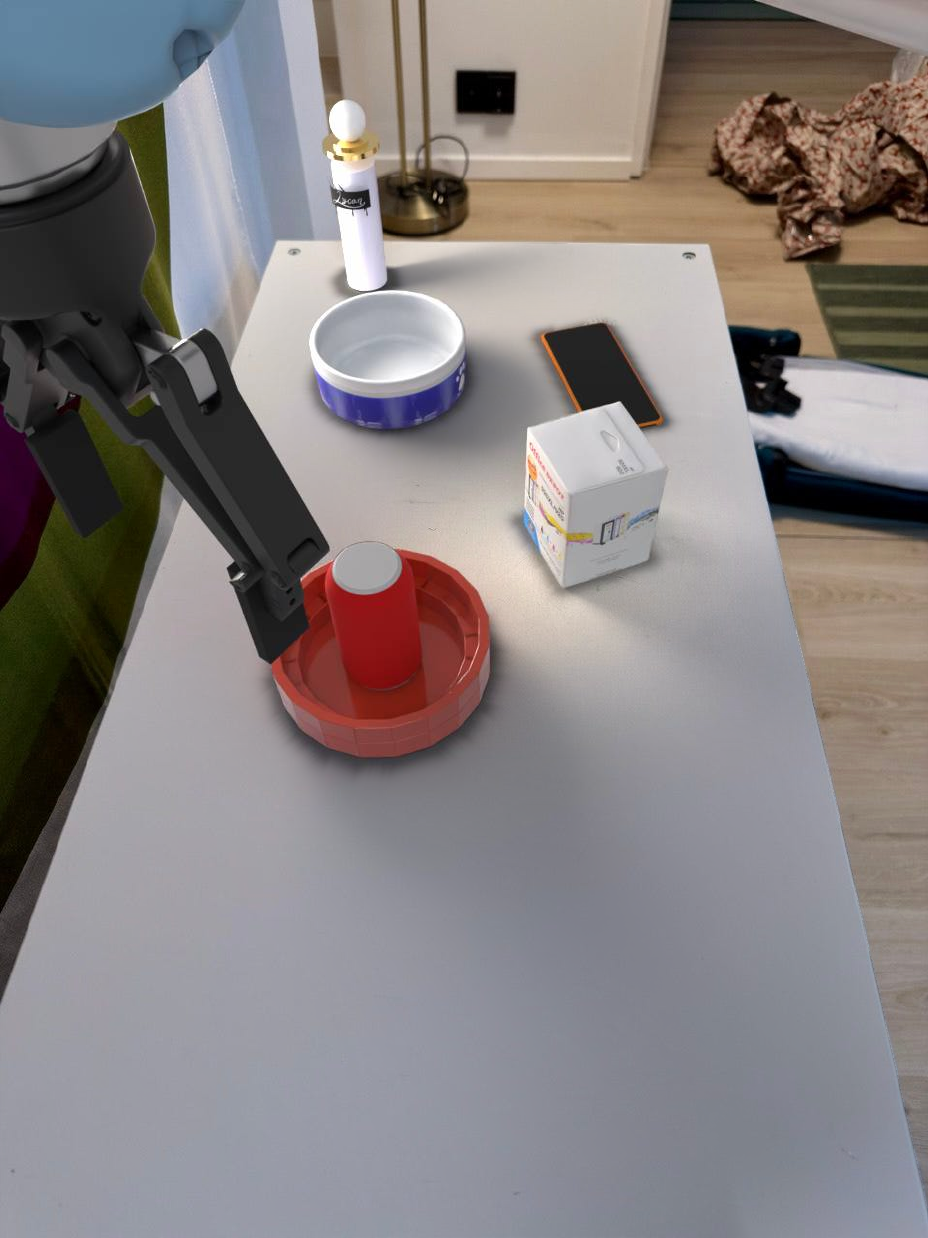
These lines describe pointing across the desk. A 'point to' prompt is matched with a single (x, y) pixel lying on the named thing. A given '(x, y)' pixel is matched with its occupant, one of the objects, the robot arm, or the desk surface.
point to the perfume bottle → (356, 195)
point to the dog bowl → (389, 358)
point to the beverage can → (375, 615)
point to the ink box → (592, 493)
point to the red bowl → (411, 710)
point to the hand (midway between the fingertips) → (187, 578)
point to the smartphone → (599, 371)
